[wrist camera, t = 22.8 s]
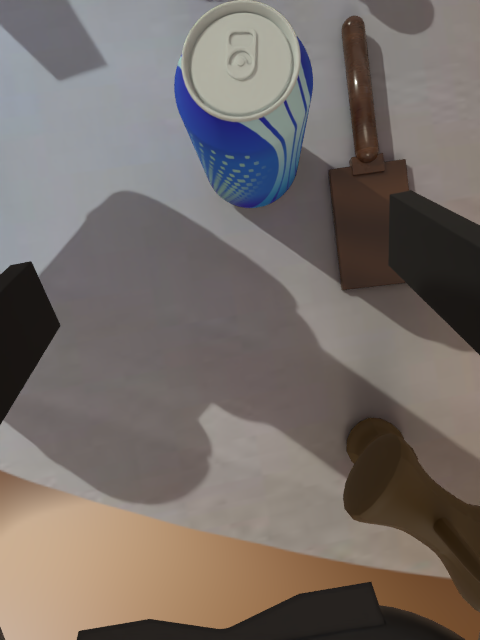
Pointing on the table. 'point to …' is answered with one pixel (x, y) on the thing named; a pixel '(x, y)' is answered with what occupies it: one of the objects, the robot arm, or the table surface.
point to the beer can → (245, 100)
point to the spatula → (363, 179)
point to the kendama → (412, 502)
